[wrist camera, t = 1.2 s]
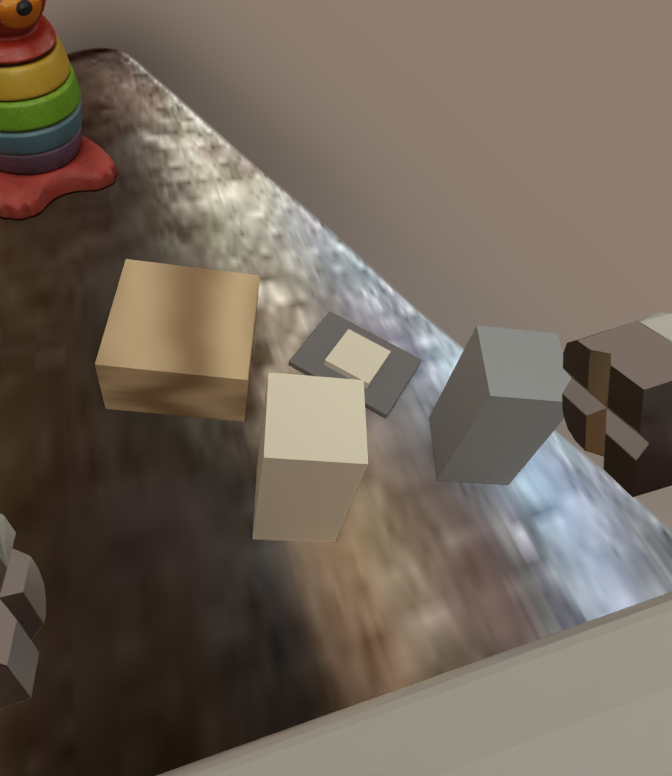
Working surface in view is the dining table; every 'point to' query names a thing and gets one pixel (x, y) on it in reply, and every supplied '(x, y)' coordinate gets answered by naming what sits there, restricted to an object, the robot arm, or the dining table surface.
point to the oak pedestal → (179, 341)
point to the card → (357, 361)
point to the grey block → (498, 405)
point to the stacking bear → (41, 117)
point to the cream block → (309, 457)
